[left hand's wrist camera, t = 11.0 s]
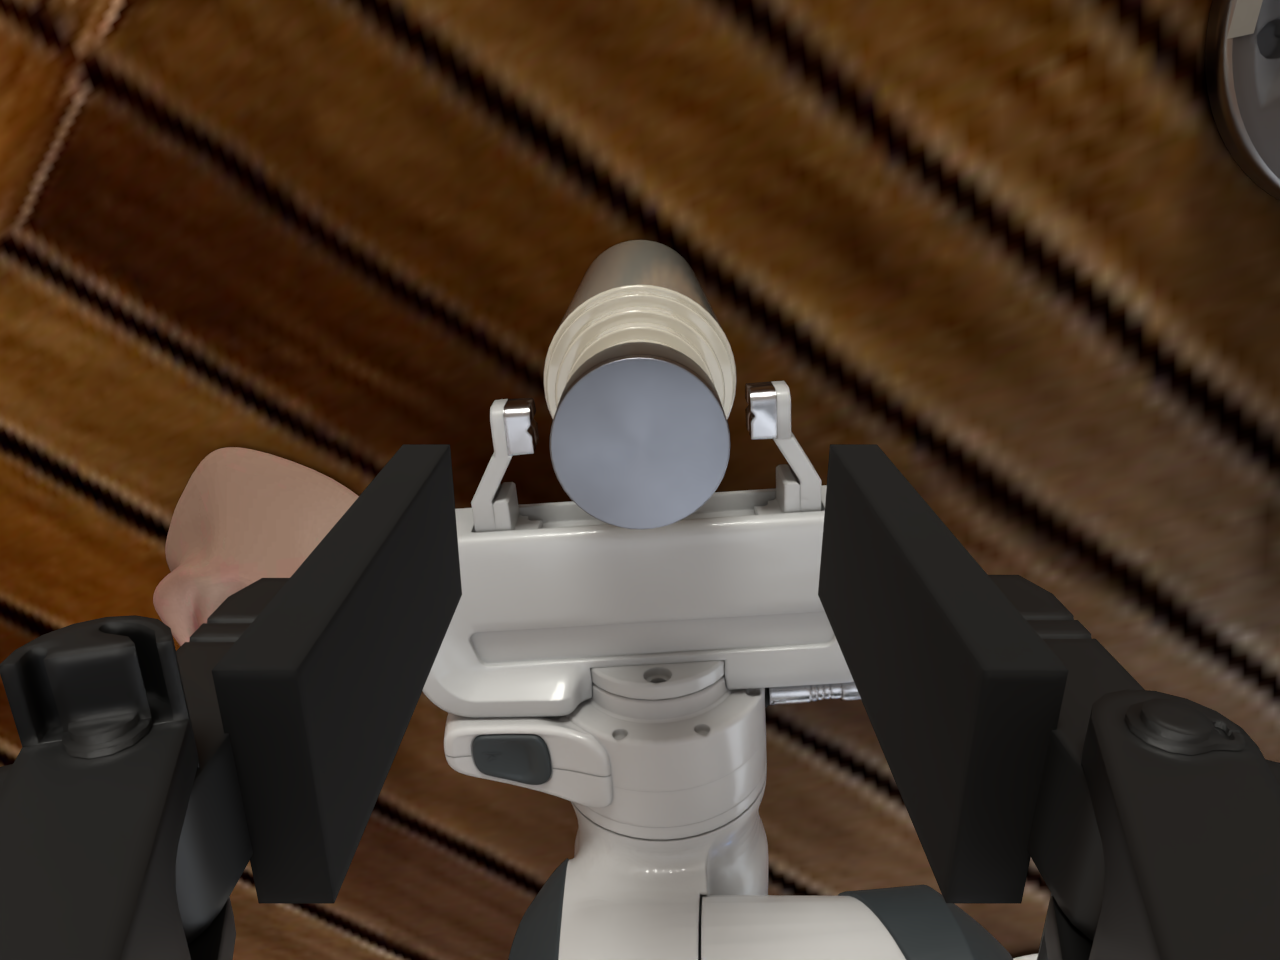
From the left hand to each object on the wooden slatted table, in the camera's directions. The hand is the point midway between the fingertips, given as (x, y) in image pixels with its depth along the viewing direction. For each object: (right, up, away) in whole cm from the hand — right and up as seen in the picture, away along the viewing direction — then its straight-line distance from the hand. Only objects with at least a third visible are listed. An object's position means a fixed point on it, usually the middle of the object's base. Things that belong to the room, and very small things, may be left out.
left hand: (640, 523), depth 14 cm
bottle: (0, +8, +23) cm, 24 cm away
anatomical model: (-17, -4, +27) cm, 32 cm away
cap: (0, +2, +4) cm, 4 cm away
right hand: (0, +4, +17) cm, 18 cm away
